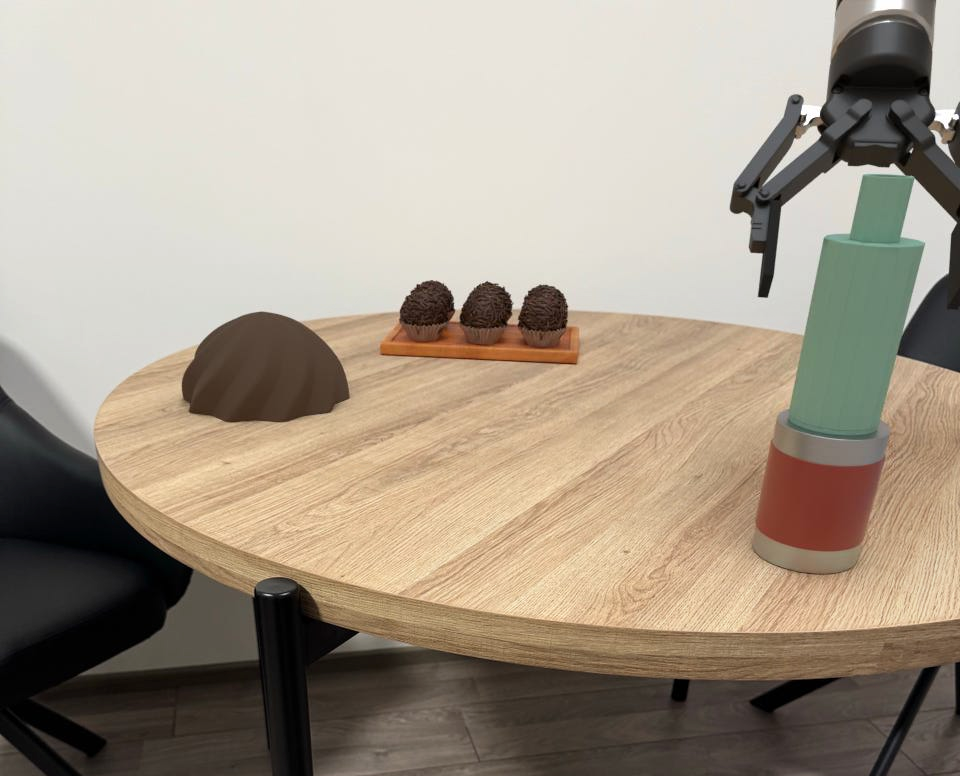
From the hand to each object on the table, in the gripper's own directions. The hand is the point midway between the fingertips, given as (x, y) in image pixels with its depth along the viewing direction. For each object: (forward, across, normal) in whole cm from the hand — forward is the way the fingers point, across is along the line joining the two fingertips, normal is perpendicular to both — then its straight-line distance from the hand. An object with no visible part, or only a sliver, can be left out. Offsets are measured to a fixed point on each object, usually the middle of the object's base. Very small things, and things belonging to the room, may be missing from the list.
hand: (860, 292), depth 67 cm
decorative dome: (-4, +61, -33) cm, 69 cm away
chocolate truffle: (-28, +41, -57) cm, 76 cm away
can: (+16, 0, -13) cm, 20 cm away
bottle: (+8, 0, -5) cm, 9 cm away
